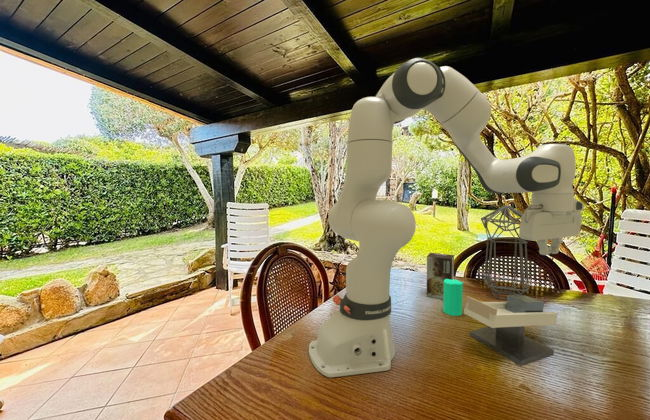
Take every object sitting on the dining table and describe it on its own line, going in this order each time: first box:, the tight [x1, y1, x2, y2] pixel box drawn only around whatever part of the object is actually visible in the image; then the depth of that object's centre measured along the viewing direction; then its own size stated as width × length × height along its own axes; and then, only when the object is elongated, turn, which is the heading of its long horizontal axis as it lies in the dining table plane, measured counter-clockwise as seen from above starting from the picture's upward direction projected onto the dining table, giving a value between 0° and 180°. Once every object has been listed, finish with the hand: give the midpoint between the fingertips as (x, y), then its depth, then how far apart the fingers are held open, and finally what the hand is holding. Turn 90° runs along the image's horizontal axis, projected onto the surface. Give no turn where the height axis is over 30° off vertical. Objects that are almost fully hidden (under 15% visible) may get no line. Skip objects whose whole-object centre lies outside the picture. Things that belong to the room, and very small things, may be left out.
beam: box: [463, 296, 559, 328], centre depth 70 cm, size 24×8×4 cm, turn 110°
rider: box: [506, 294, 545, 313], centre depth 72 cm, size 7×5×4 cm
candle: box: [442, 276, 464, 317], centre depth 90 cm, size 6×6×12 cm
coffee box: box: [426, 252, 455, 300], centre depth 103 cm, size 9×6×16 cm
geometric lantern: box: [480, 205, 530, 300], centre depth 102 cm, size 16×16×35 cm
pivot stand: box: [469, 325, 555, 367], centre depth 71 cm, size 12×14×6 cm
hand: (548, 253), depth 74 cm, fingers open, 2 cm apart
